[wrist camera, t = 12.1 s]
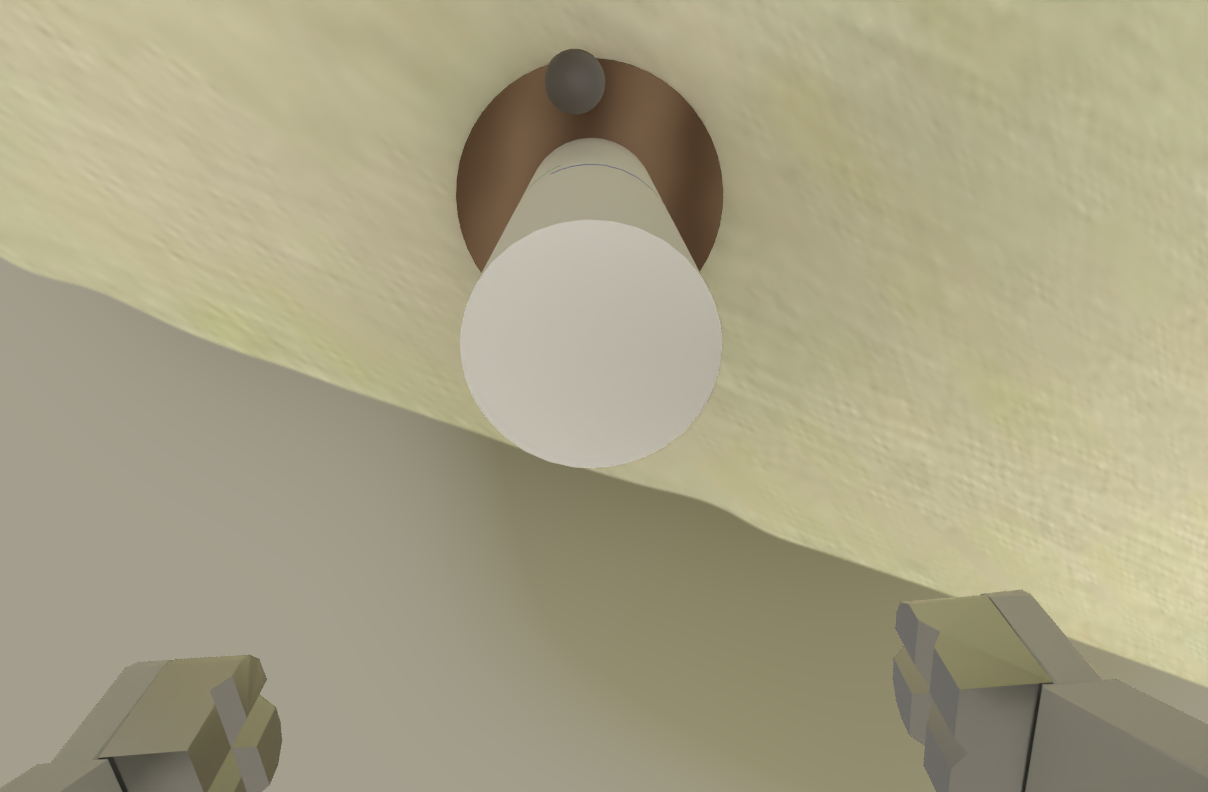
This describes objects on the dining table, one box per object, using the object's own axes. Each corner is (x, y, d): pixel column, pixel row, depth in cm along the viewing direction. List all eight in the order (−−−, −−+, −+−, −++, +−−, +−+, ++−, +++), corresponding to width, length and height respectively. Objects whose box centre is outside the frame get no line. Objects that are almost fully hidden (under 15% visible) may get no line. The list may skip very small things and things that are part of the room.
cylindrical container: (665, 251, 46) (741, 440, 23) (545, 278, 46) (500, 490, 23) (640, 123, 43) (697, 191, 20) (513, 154, 44) (425, 254, 20)
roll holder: (714, 39, 43) (755, 30, 32) (723, 315, 49) (760, 387, 38) (439, 66, 43) (387, 66, 32) (481, 337, 49) (450, 414, 38)
